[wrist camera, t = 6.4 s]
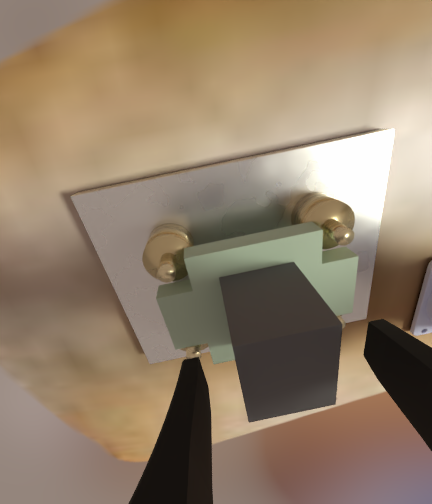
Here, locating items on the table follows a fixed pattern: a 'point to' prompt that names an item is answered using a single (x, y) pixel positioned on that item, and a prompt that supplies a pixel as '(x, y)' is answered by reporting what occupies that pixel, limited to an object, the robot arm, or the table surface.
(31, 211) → the table surface
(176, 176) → the plate
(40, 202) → the table surface
